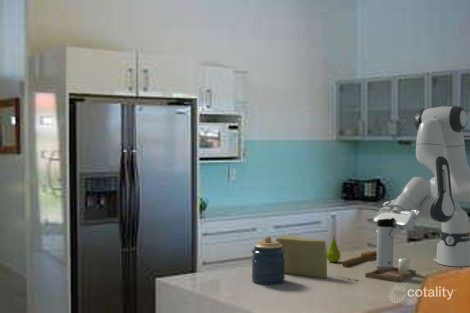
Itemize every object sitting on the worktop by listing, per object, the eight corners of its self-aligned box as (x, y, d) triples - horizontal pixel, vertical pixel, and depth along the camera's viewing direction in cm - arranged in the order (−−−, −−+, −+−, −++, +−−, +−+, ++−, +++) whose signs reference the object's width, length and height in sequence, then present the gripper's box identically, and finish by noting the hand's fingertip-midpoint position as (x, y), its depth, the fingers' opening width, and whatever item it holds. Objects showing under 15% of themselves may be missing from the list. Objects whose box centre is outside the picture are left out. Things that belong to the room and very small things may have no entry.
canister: (288, 278, 242) (288, 234, 242) (280, 286, 230) (279, 239, 229) (257, 276, 246) (257, 233, 246) (247, 283, 234) (247, 238, 234)
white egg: (401, 272, 247) (401, 257, 247) (411, 274, 244) (411, 259, 244) (396, 274, 244) (396, 259, 244) (406, 275, 241) (406, 260, 241)
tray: (385, 272, 253) (385, 265, 253) (415, 276, 244) (415, 270, 244) (365, 280, 239) (365, 273, 239) (396, 285, 231) (396, 278, 231)
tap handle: (341, 260, 265) (372, 250, 288) (341, 267, 265) (372, 256, 288) (347, 261, 263) (378, 250, 286) (347, 268, 263) (378, 257, 286)
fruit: (323, 262, 274) (323, 235, 274) (331, 260, 279) (331, 233, 279) (335, 264, 270) (335, 237, 270) (343, 261, 275) (343, 235, 274)
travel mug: (394, 270, 236) (394, 218, 236) (376, 269, 237) (377, 218, 238) (393, 267, 242) (394, 217, 242) (376, 267, 243) (377, 217, 244)
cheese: (332, 276, 247) (332, 239, 246) (319, 280, 239) (319, 242, 239) (288, 268, 261) (288, 233, 261) (274, 272, 254) (274, 236, 253)
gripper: (426, 216, 236) (407, 243, 232) (390, 212, 254) (372, 237, 250) (417, 205, 234) (397, 232, 230) (381, 202, 252) (363, 227, 248)
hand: (384, 235), depth 240 cm, fingers closed on travel mug, 6 cm apart
